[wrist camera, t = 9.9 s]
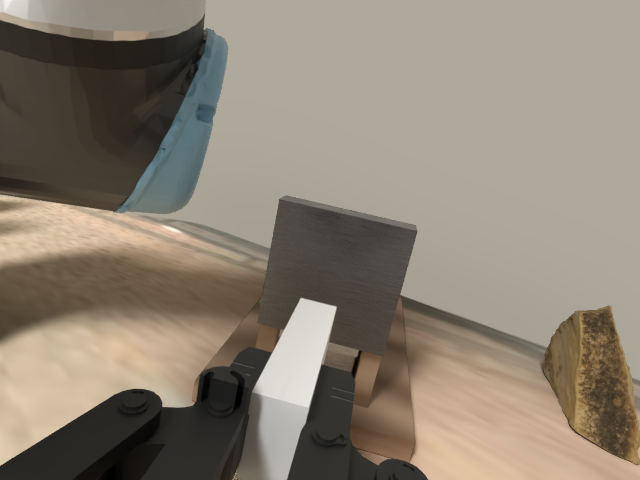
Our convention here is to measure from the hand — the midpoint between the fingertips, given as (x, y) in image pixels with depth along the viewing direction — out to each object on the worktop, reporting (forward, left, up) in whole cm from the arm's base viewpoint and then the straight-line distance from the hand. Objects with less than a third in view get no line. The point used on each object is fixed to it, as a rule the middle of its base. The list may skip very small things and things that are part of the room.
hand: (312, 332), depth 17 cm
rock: (+19, +22, -10) cm, 31 cm away
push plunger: (-2, +12, -8) cm, 15 cm away
